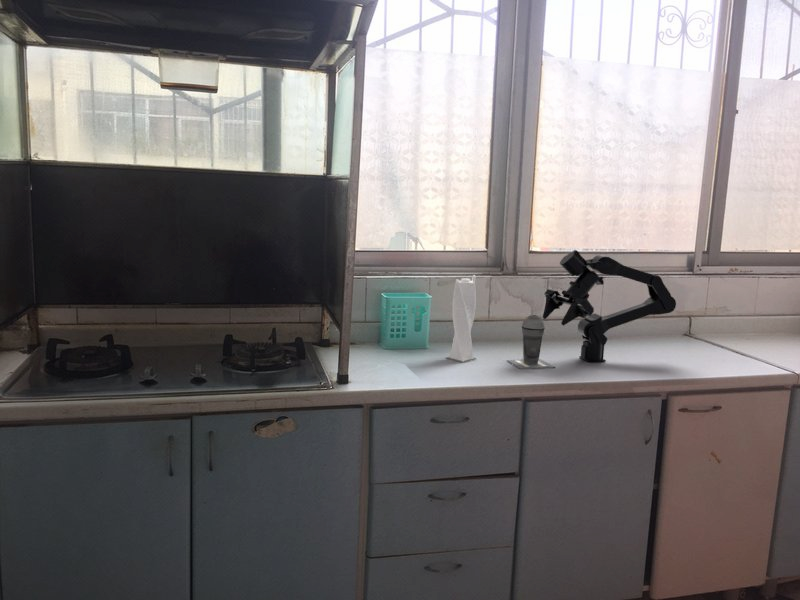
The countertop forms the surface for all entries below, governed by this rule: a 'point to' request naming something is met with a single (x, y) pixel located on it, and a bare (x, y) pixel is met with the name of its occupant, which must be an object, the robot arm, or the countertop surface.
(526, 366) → the letter card
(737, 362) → the countertop surface
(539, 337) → the beverage cup
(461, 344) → the skyscraper
